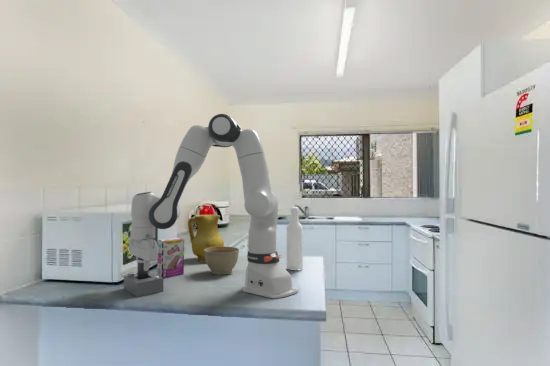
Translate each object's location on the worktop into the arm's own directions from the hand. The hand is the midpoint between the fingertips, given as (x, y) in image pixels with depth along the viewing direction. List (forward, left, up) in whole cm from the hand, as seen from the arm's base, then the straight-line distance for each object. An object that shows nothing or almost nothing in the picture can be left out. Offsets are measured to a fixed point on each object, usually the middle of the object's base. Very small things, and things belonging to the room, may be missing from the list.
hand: (143, 269), depth 139 cm
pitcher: (+33, -48, -8) cm, 59 cm away
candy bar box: (+14, -18, -8) cm, 24 cm away
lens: (0, 0, -4) cm, 4 cm away
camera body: (0, 0, -8) cm, 8 cm away
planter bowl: (+3, -38, -8) cm, 39 cm away
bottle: (-15, -68, -8) cm, 70 cm away
